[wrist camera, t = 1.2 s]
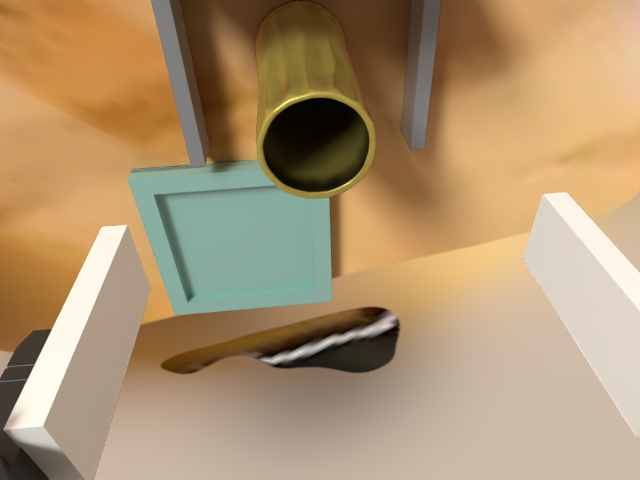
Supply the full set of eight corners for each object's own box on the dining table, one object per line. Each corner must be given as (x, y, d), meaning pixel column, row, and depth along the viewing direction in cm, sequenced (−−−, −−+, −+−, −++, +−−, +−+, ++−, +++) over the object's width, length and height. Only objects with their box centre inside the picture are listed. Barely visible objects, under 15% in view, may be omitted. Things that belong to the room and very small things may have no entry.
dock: (196, 146, 35) (175, 225, 27) (145, -79, 26) (92, -57, 18) (413, 130, 35) (454, 204, 28) (435, -94, 27) (503, -79, 19)
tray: (177, 303, 45) (174, 315, 44) (132, 169, 36) (127, 179, 34) (330, 290, 46) (332, 301, 44) (326, 154, 36) (328, 164, 35)
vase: (236, 38, 30) (215, 135, 19) (313, -22, 28) (340, 48, 17) (290, 110, 34) (299, 228, 23) (362, 61, 32) (411, 164, 21)
